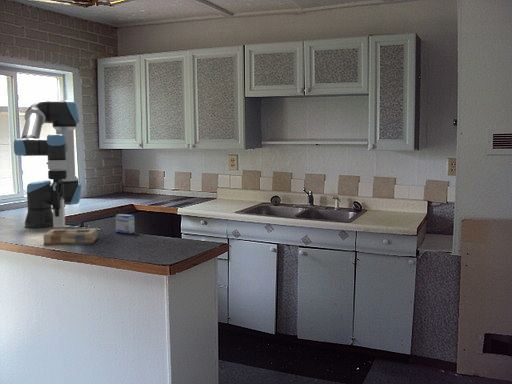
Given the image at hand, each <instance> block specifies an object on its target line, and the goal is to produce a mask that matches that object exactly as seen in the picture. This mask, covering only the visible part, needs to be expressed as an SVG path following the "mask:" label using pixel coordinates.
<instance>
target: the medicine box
mask: <svg viewBox="0 0 512 384" xmlns="http://www.w3.org/2000/svg"><path fill="white" fill-rule="evenodd" d="M116 232H123V233H122V234H129V233H130V234H133V233H135V214H125V213H124V214H123V213H121V214H120V213H119V214H118V213H117V214H116V215H115V233H116Z"/></svg>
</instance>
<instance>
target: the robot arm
mask: <svg viewBox="0 0 512 384" xmlns="http://www.w3.org/2000/svg"><path fill="white" fill-rule="evenodd" d="M24 121H25V123H24V125H23V130H22V134H21V137H20V138H15V139H14V140H13V153H14V154H15V155H16V156H18V157H20V156H22V157H33V156H39V157H40V156H42V157H44V156H46V157H47V162H46V165H47V168H48V172H47V179H49V180H47V179H46V180H41V181H40V180H38V181H33V182H30V183H28V184H27V186H26V199H27V200H26V202H27V214H26V216H25V220H24V227H25V228H29V229H30V228H31V229H35V228H36V229H38V228H39V229H41V228H49V227H53V209H54V224H61V209H60V197H63V199H64V208H65V207H66V206H68V205H69V206H71V205H78V204H79V203H80V201H81V195H82V194H81V193H82V182H80V180H79V178H78V177H77V176H76V164H75V163H76V160H75V157H76V156H75V135H74V134H75V133H74V131H75V130H76V128H77V124H80V118H79V111H78V105H77V102H76V101H74V100H67V99H65V100H64V99H63V100H59V99H58V100H56V99H55V100H54V99H52V100H50V99H43V100H39V101H36V102H35V103H33V104H31V105H30V106H29V107H28V108H27V109H26V110H25V112H24ZM44 124H51V125H52V128H53V129H54V130H55V134H48V135H47V136H46V138H40V137H41V134H42V133H41V132H42V128H43V125H44ZM15 155H14V156H15ZM51 180H52V181H51Z"/></svg>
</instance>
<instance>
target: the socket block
mask: <svg viewBox="0 0 512 384" xmlns="http://www.w3.org/2000/svg"><path fill="white" fill-rule="evenodd" d="M97 239H98V228H97V227H96V228H93V227H92V228H52V229H50V230H48V231H47V232H46V233H44V234H43V246H61V245H62V246H63V245H65V246H67V245H92V244H94V243H95V241H96V240H97Z"/></svg>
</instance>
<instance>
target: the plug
mask: <svg viewBox="0 0 512 384" xmlns="http://www.w3.org/2000/svg"><path fill="white" fill-rule="evenodd" d="M60 209H61V224H54V209H52V212H53V226H52V227H53V228H65V226H66V217H65V216H66V211H65V210H66V209H65V207H64V199H63V197H60Z"/></svg>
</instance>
